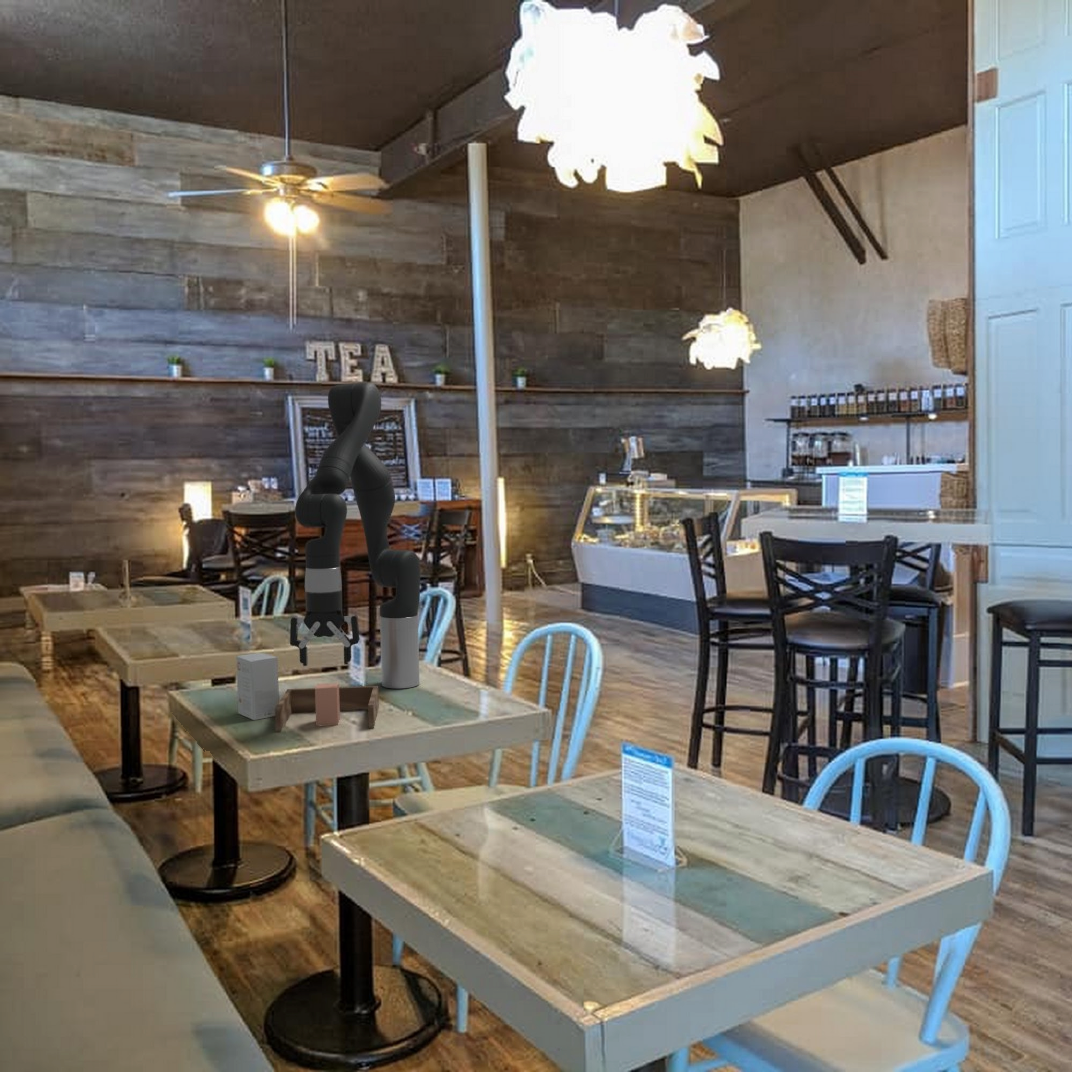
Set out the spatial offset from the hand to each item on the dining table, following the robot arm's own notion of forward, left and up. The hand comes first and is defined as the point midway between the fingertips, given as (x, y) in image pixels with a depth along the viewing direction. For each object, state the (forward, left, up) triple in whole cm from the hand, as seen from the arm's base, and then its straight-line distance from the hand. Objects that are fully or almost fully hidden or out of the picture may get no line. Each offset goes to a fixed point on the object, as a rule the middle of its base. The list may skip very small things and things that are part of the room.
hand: (325, 664), depth 219 cm
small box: (-9, -16, -13) cm, 22 cm away
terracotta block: (0, 0, -13) cm, 13 cm away
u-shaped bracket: (-2, 0, -13) cm, 13 cm away
